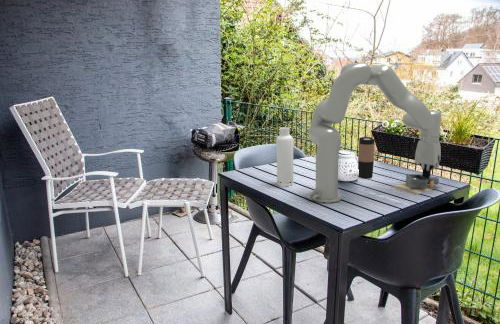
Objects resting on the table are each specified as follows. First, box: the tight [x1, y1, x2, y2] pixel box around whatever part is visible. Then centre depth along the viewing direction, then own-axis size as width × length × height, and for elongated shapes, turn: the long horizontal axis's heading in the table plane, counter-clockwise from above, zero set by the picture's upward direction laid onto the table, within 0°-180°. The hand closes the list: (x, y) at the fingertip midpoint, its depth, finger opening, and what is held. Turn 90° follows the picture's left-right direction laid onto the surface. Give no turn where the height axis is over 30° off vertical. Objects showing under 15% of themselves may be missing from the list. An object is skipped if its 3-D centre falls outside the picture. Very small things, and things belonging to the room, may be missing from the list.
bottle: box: [275, 126, 294, 187], centre depth 186 cm, size 8×8×28 cm
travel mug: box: [357, 136, 376, 179], centre depth 195 cm, size 8×8×20 cm
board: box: [390, 182, 436, 195], centre depth 175 cm, size 15×13×1 cm
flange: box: [404, 173, 440, 189], centre depth 174 cm, size 13×7×4 cm, turn 87°
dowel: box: [428, 180, 435, 190], centre depth 172 cm, size 2×2×4 cm
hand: (426, 178), depth 176 cm, fingers closed
